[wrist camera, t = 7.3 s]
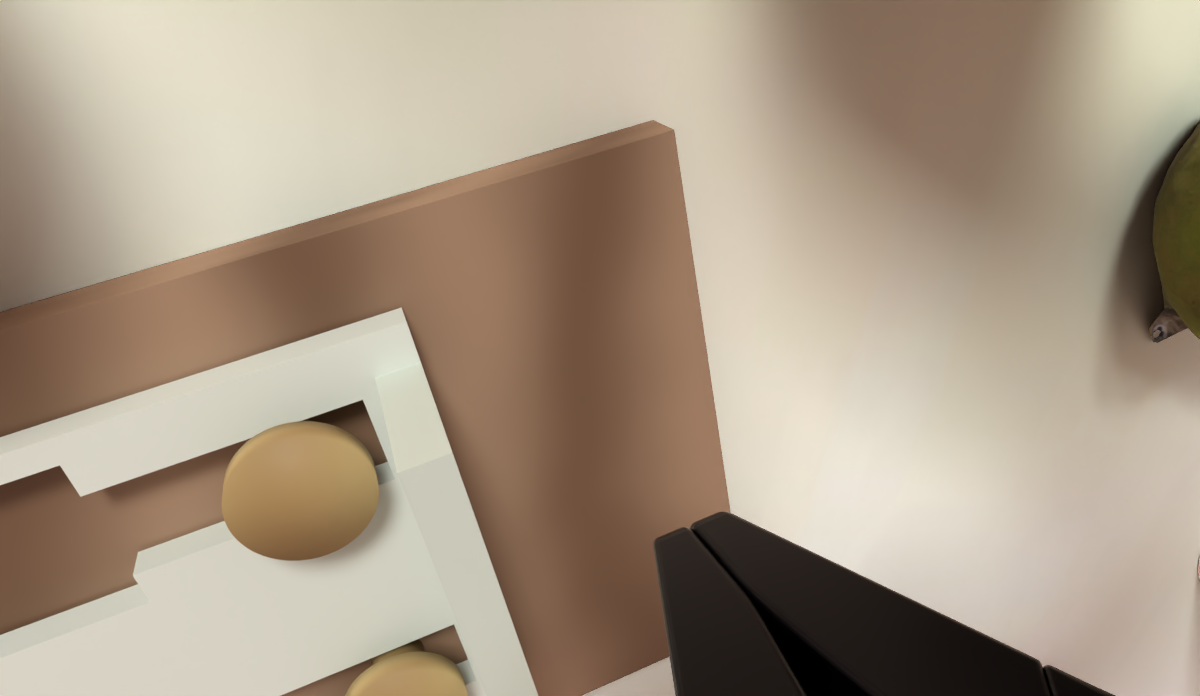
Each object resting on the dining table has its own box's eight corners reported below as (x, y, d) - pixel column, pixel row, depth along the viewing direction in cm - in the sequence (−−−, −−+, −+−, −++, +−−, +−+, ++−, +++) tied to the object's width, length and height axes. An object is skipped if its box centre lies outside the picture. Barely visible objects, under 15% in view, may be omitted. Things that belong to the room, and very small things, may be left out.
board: (653, 120, 19) (716, 149, 16) (728, 596, 27) (781, 671, 24) (-271, 391, 15) (-393, 491, 13) (132, 856, 23) (112, 981, 20)
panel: (401, 307, 18) (436, 406, 14) (529, 670, 24) (578, 810, 20) (-226, 510, 15) (-394, 698, 11) (92, 859, 21) (52, 1060, 17)
